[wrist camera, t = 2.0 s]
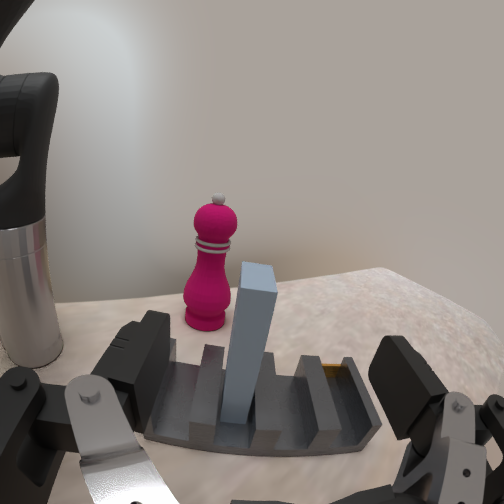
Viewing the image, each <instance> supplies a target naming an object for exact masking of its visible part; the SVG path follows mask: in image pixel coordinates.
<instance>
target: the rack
mask: <svg viewBox="0 0 504 504" xmlns="http://www.w3.org/2000/svg"><path fill="white" fill-rule="evenodd" d="M224 348H225V347H220V346H213V345H207V344H205V347H204V351H203V356H202V360H201V365H200V366H198V365H192V364H186V363H181V362H176V339H173V338H170V357H169V362H168V366H167V369H166V371H165V374H164V377H163V380H162V383H161V385H160V388H159V391H158V394H157V397H156V400H155V403H154V406H153V409H152V412H151V415H150V418H149V421H148V424H147V427H146V430H145V433H144V434H143V435H144V438H145V439H148V440H152V441H157V442H161V443H165V444H170V445H175V446H180V447H185V448H191V449H197V450H203V451H210V452H218V453H227V454H237V455H251V456H282V457H287V456H317V455H331V454H341V453H350V452H358V451H361V450H362V449H363V448H364V447H365V446H366V445H367V443H368V442H369V441H370V440H371V438H372V437H373V436H374V435H375V433H376V432H377V431H378V430H379V428H380V427H381V426H382V423H381V421H380V418H379V416H378V414H377V411H376V409H375V407H374V404H373V402H372V400H371V398H370V395H369V393H368V391H367V389H366V387H365V384H364V382H363V380H362V378H361V376H360V373H359V371H358V369H357V367H356V365H355V363H354V361H353V358H352V357H344V358H343V361H342V363H341V364H321V361H320V358H319V356H307V355H301V357H300V360H299V363H298V366H297V369H296V372H295V374H294V376H282V375H276V372H275V364H274V355H273V353H269V352H264V354H263V358H262V362H261V366H260V370H259V374H258V378H257V382H256V386H255V390H254V394H253V397H252V401H251V405H250V409H249V412H248V416H247V420H246V424H238V423H228V422H220V414H221V404H222V394H223V385H224V378H225V371H226V370H224V369H222V365H223V356H224Z"/></svg>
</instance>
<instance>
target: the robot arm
mask: <svg viewBox="0 0 504 504" xmlns="http://www.w3.org/2000/svg"><path fill="white" fill-rule="evenodd" d="M33 2H34V0H0V47H1V46H2V44H3V42H4V41H5V39H6V38H7V36H8V35H9V33H10V32H11V30H12V29H13V27H14V26H15V25H16V24H17V22H18V21H19V20H20V18H21V17H22V16H23V14H24V13H25V12H26V11H27V9H28V8H29V7H30V5H31V4H32V3H33ZM58 94H59V84H58V79H57V77H56V75H55V74H53V73H46V72H40V73H26V74H15V75H7V76H2V75H0V158H3V157H16V156H20V161H19V165H18V168H17V170H16V171H15V173H14V174H13V175H12V176H11V177H10V178H9V179H8V180H7V181H5V182H4V183H3V184H1V185H0V340H1V343H2V346H3V347H4V348H5V349H6V351H7V353H8V356H9V357H10V359H11V360H12V361H13V362H14V363H15V364H17V365H19V366H22V367H14V368H11V369H9V370H8V371H6V372H5V373H4V374H3V375H2V377H1V378H0V504H47V502H48V499H49V496H50V493H51V490H52V487H53V484H54V481H55V478H56V476H57V473H58V470H59V468H60V465H61V462H62V460H63V457H64V455H65V452H66V451H68V452H76V453H80V455H81V460H80V462H79V463H80V468H81V471H82V474H83V477H84V479H85V482H86V484H87V487H88V489H89V492H90V494H91V496H92V499H93V501H94V503H95V504H179V503H178V502H177V501H176V499H175V498H174V496H173V495H172V493H171V492H170V490H169V489H168V487H167V486H166V484H165V483H164V481H163V480H162V478H161V476H160V475H159V473H158V471H157V470H156V468H155V466H154V465H153V463H152V461H151V460H150V458H149V456H148V455H147V453H146V451H145V450H144V448H143V447H141V446H140V445H139V443H138V441H137V439H136V437H135V435H134V433H133V432H134V431H135V432H138V433H142V434H144V433H145V430H146V427H147V424H148V421H149V418H150V415H151V412H152V409H153V406H154V403H155V400H156V397H157V394H158V391H159V388H160V385H161V383H162V380H163V377H164V374H165V371H166V369H167V366H168V362H169V357H170V315H169V314H168V313H162V312H157V311H152V310H148V311H147V312H146V314H145V316H144V317H143V319H142V320H141V322H136V321H131V322H130V323H128V324H126V325H125V326H123V327H122V328H121V329H120V331H119V332H118V333H117V335H116V336H115V339H113V341H112V342H111V344H110V346H109V347H108V348H107V350H106V351H105V353H104V354H103V356H102V357H101V359H100V360H99V362H98V363H97V365H96V366H95V368H94V369H93V371H92V372H91V374H90V375H82V376H79V377H76V378H74V379H73V380H71V381H70V382H69V383H68V385H67V386H61V385H52V384H44V383H41V381H40V379H39V377H38V375H37V373H36V372H35V371H33V370H32V369H30V368H34V367H40V366H44V365H46V364H48V363H50V362H51V361H53V360H54V359H55V358H56V357H57V356H58V355H59V354H60V352H61V350H62V347H63V340H62V336H61V332H60V328H59V323H58V318H57V313H56V308H55V303H54V297H53V291H52V285H51V278H50V270H49V261H48V252H47V239H46V218H45V183H46V165H47V158H48V150H49V144H50V138H51V133H52V127H53V123H54V117H55V113H56V107H57V101H58ZM368 377H369V381H370V383H371V385H372V387H373V389H374V391H375V393H376V395H377V397H378V399H379V401H380V403H381V406H382V408H383V410H384V412H385V414H386V416H387V418H388V420H389V423H390V425H391V427H392V429H393V431H394V433H395V436H396V438H397V440H402V439H407V438H410V439H411V441H410V442H409V444H408V445H407V447H406V450H405V454H404V457H403V460H402V463H401V466H400V469H399V472H398V474H397V477H396V480H395V482H394V484H393V486H392V487H391V484H389V485H386V486H382V487H378V488H374V489H369V490H365V491H360V492H357V493H354V494H352V495H350V496H348V497H345V498H343V499H340V500H338V501H335V502H333V503H330V504H504V398H503V397H501V396H499V395H495V394H493V395H490V396H489V397H488V399H487V400H486V401H485V403H484V404H483V405H474V404H473V402H472V401H471V400H470V399H469V398H468V397H467V396H466V395H464V394H462V393H459V392H450V393H449V392H448V390H447V389H446V387H445V386H444V385H443V383H442V382H441V381H440V379H439V378H438V377H437V375H436V374H435V373H434V371H432V369H431V367H430V366H429V365H428V364H427V362H426V361H425V359H424V358H423V357H422V356H421V354H419V353H418V352H417V351H415V350H414V349H413V348H412V346H411V345H410V344H409V342H408V341H407V340H406V339H405V337H403V336H385V337H383V339H382V340H381V342H380V345H379V347H378V349H377V351H376V354H375V356H374V358H373V360H372V362H371V364H370V367H369V371H368ZM492 436H493V437H494V439H495V441H496V443H497V444H498V446H499V448H500V450H501V451H502V454H503V460H502V462H501V464H500V465H499V466H498V467H497V468H496V469H495V470H494V471H493V470H492V469H491V467H490V465H489V463H488V461H487V459H486V453H487V452H486V448H485V446H484V445H485V444H486V443H487V442H488V441H489V440H490V438H491V437H492ZM230 504H292V503H286V502H280V501H245V500H232V501H231V503H230Z"/></svg>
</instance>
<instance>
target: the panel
mask: <svg viewBox="0 0 504 504" xmlns="http://www.w3.org/2000/svg"><path fill="white" fill-rule="evenodd" d="M277 293H278V292H277V287H276V282H275V278H274V273H273V268H272V266H271V265H264V264H257V263H250V262H242V266H241V273H240V279H239V286H238V292H237V298H236V305H235V311H234V318H233V325H232V331H231V338H230V344H229V351H228V358H227V365H226V371H225V378H224V385H223V394H222V404H221V414H220V422H228V423H238V424H246V420H247V416H248V412H249V409H250V405H251V401H252V397H253V394H254V390H255V386H256V382H257V378H258V374H259V370H260V366H261V362H262V358H263V354H264V350H265V345H266V341H267V337H268V333H269V329H270V324H271V320H272V316H273V311H274V307H275V302H276V298H277Z"/></svg>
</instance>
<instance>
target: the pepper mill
mask: <svg viewBox="0 0 504 504" xmlns="http://www.w3.org/2000/svg"><path fill="white" fill-rule="evenodd" d="M212 201H213V203H211V204H206V205H204V206H202V207H201V208H200V209H199V210H198V211H197V212H196V215H195V217H194V227H195V230H196V231H197V233H198V236H196V243H195V247H196V248H197V249H198V256H197V263H196V266H195V269H194V271H193V272H192V274H191V276H190V278H189V279H188V281H187V283H186V286H185V288H184V294H183V299H184V302H185V303H186V305H187V307H186V314H185V320H186V322H187V324H189V325H190V326H191V327H193V328H195V329H197V330H201V331H213V330H217V329H219V328H221V327H222V326H223V324H224V320H225V311H224V310H225V309H226V308H227V307H228V306H229V304H230V298H231V293H230V287H229V284H228V281H227V279H226V275H225V269H224V265H225V257H226V252H228V251H229V250H230V244H231V241H230V240H229V238H230V237H231V236H232V235H233V234H234V232H235V231H236V229H237V217H236V215H235V213H234V211H233V210H232V209H231V208H229V207H228V206H225V205H223V203H224V202H225V196H224V195H223V194H222V193H215V194H214V195H213V197H212Z"/></svg>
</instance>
